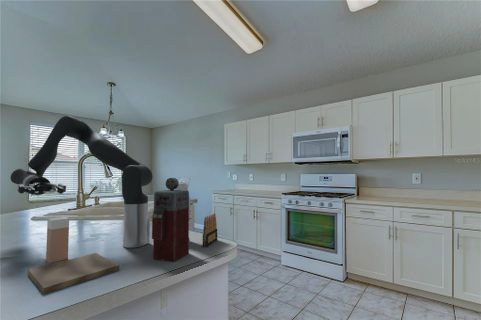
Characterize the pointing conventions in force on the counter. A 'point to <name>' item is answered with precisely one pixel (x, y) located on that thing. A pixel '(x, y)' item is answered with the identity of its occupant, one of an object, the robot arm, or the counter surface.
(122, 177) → the robot arm
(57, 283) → the board
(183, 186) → the skyscraper
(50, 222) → the block
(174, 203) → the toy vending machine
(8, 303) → the counter surface
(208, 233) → the ammunition clip
